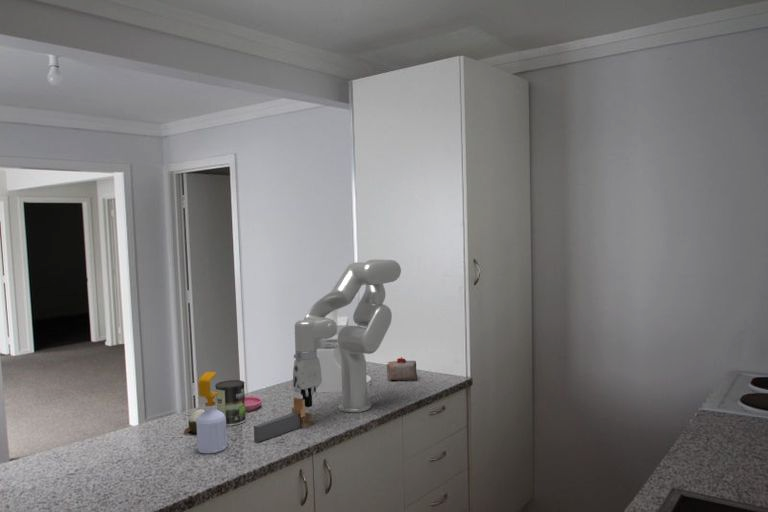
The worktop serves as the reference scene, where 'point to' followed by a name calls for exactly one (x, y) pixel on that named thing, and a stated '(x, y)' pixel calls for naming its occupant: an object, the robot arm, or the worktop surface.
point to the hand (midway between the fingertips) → (307, 406)
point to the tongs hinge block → (307, 420)
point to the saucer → (252, 403)
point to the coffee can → (231, 401)
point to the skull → (193, 422)
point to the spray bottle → (210, 420)
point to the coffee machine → (332, 358)
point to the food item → (401, 370)
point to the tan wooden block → (299, 406)
